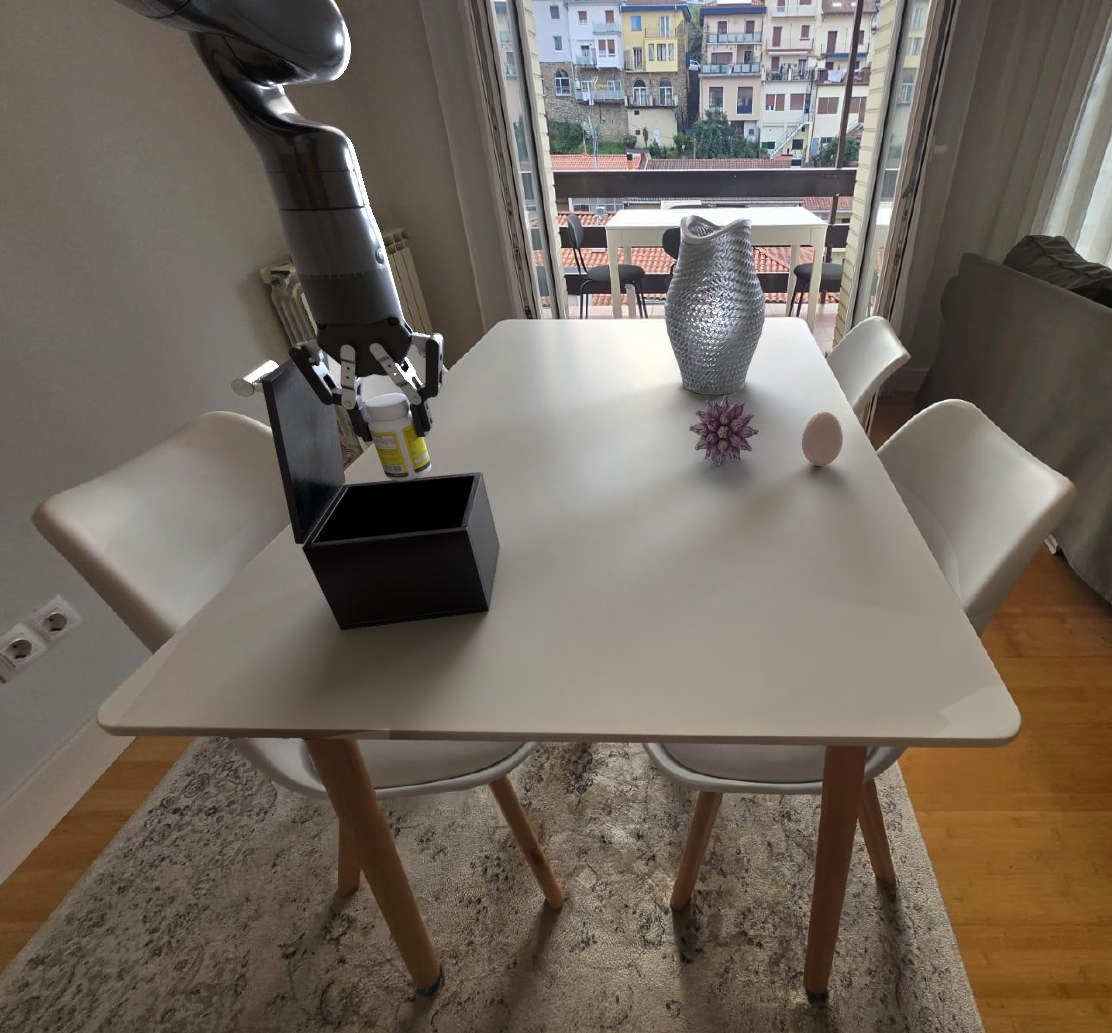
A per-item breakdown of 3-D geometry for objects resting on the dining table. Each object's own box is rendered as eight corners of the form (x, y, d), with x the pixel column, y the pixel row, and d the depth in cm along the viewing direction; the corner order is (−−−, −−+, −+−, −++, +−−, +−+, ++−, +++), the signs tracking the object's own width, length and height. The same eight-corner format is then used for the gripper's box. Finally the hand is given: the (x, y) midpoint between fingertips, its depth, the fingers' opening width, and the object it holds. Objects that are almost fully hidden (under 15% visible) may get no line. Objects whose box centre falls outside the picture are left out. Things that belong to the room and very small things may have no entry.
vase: (653, 395, 127) (645, 221, 108) (682, 365, 145) (680, 210, 126) (750, 405, 122) (759, 223, 103) (768, 372, 139) (779, 212, 120)
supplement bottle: (427, 458, 65) (407, 388, 61) (436, 474, 62) (415, 401, 57) (382, 469, 63) (357, 397, 59) (389, 486, 60) (363, 412, 55)
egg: (844, 472, 96) (853, 418, 90) (805, 475, 95) (812, 421, 90) (831, 454, 101) (838, 403, 96) (794, 456, 101) (800, 405, 95)
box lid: (325, 339, 61) (271, 332, 60) (271, 381, 50) (202, 374, 48) (345, 481, 70) (299, 478, 68) (303, 544, 58) (246, 542, 57)
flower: (762, 475, 98) (704, 478, 92) (727, 446, 107) (672, 447, 101) (780, 412, 93) (719, 412, 87) (741, 387, 101) (684, 385, 96)
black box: (499, 546, 79) (482, 471, 72) (489, 611, 68) (467, 530, 61) (373, 560, 76) (343, 484, 70) (340, 630, 65) (301, 547, 59)
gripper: (433, 255, 55) (472, 417, 64) (274, 260, 53) (337, 428, 62) (417, 267, 49) (461, 445, 58) (235, 274, 47) (311, 458, 56)
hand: (397, 435), depth 60 cm, fingers closed on supplement bottle, 4 cm apart
